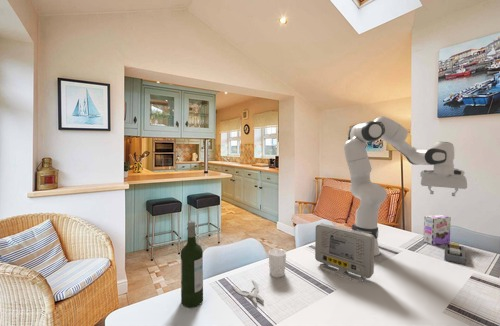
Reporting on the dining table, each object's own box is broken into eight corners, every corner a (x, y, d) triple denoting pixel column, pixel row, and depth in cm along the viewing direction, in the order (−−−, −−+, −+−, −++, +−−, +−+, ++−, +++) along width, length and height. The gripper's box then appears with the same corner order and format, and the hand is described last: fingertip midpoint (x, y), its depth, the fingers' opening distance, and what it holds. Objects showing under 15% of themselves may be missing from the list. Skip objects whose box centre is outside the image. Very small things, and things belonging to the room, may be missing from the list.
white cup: (287, 271, 109) (288, 250, 108) (282, 279, 102) (283, 257, 101) (271, 268, 112) (272, 247, 112) (265, 275, 105) (266, 254, 105)
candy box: (432, 245, 139) (433, 218, 138) (422, 241, 145) (423, 215, 144) (450, 243, 142) (451, 216, 142) (440, 239, 148) (441, 214, 147)
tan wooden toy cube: (449, 252, 129) (449, 244, 129) (449, 250, 132) (449, 241, 132) (458, 255, 127) (459, 245, 126) (458, 252, 130) (459, 243, 129)
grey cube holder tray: (444, 260, 121) (444, 254, 120) (444, 247, 136) (445, 242, 136) (465, 264, 115) (465, 258, 115) (463, 251, 131) (463, 246, 131)
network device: (375, 278, 103) (376, 233, 102) (368, 286, 97) (370, 238, 96) (320, 259, 121) (321, 221, 120) (312, 265, 114) (312, 225, 113)
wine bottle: (186, 294, 92) (185, 218, 90) (205, 295, 91) (205, 218, 89) (177, 307, 84) (176, 224, 82) (199, 309, 83) (198, 225, 81)
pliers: (253, 278, 101) (271, 297, 87) (253, 281, 101) (271, 301, 87) (232, 283, 97) (247, 305, 83) (232, 287, 97) (247, 309, 83)
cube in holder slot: (449, 259, 122) (449, 249, 121) (449, 256, 125) (449, 247, 124) (459, 261, 119) (460, 251, 119) (459, 258, 122) (459, 249, 122)
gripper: (420, 170, 136) (419, 193, 137) (468, 172, 123) (466, 198, 124) (421, 169, 141) (420, 192, 142) (467, 171, 128) (466, 196, 128)
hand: (442, 195), depth 133 cm, fingers open, 8 cm apart
